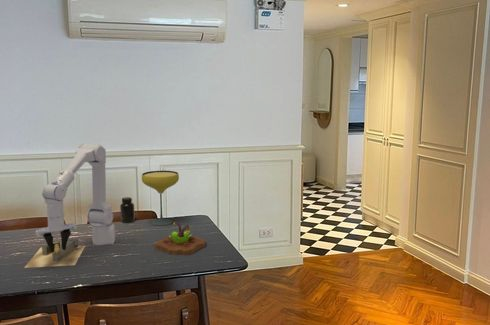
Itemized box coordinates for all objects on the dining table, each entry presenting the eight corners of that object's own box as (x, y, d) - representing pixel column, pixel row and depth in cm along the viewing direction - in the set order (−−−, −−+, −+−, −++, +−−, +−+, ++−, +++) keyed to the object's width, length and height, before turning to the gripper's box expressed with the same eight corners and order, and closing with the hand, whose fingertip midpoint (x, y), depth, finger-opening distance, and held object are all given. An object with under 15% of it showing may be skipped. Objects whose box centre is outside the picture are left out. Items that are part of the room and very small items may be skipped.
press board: (85, 247, 200) (85, 245, 199) (74, 267, 178) (74, 265, 177) (40, 249, 197) (40, 247, 197) (24, 270, 175) (24, 267, 175)
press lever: (71, 244, 197) (70, 228, 196) (79, 245, 197) (78, 228, 196) (50, 261, 178) (49, 243, 177) (59, 261, 178) (58, 244, 177)
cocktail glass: (144, 229, 226) (143, 177, 222) (141, 219, 243) (140, 171, 239) (182, 226, 231) (181, 176, 227) (177, 216, 248) (175, 169, 244)
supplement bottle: (129, 218, 244) (128, 196, 242) (137, 220, 240) (136, 197, 238) (118, 221, 239) (117, 198, 237) (126, 223, 235) (125, 200, 233)
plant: (176, 237, 215) (175, 213, 213) (212, 244, 206) (212, 219, 204) (147, 250, 198) (146, 224, 196) (184, 258, 188) (184, 231, 187)
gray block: (56, 250, 193) (56, 241, 192) (46, 255, 187) (46, 245, 187) (52, 250, 194) (52, 240, 193) (42, 255, 188) (41, 245, 187)
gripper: (71, 210, 184) (73, 243, 187) (32, 216, 175) (34, 251, 177) (77, 214, 179) (79, 248, 181) (37, 221, 170) (40, 257, 172)
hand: (57, 250), depth 179 cm, fingers open, 4 cm apart
